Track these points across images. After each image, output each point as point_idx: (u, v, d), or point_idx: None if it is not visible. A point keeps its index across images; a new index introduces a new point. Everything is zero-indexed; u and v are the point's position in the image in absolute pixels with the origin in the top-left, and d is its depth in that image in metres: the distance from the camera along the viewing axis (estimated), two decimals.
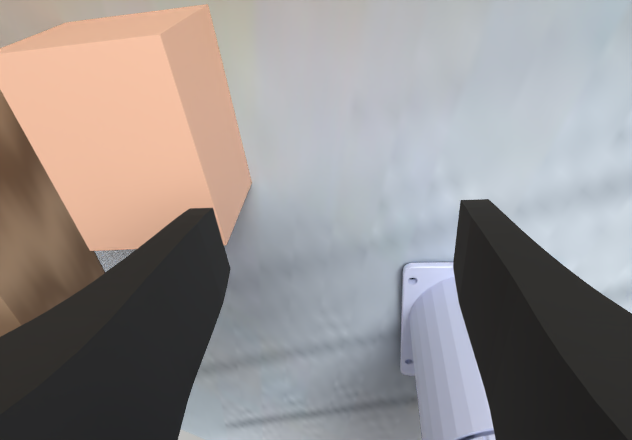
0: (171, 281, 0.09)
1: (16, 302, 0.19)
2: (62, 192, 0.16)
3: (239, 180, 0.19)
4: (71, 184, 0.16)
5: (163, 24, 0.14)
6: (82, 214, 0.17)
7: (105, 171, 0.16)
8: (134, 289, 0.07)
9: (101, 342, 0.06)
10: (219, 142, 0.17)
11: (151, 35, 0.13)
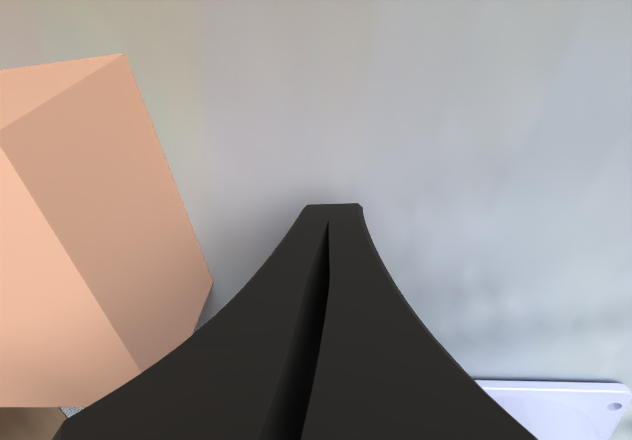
0: (317, 280, 0.08)
1: None
2: None
3: (190, 291, 0.14)
4: None
5: (25, 102, 0.08)
6: None
7: None
8: (300, 288, 0.07)
9: (294, 344, 0.06)
10: (148, 257, 0.11)
11: None
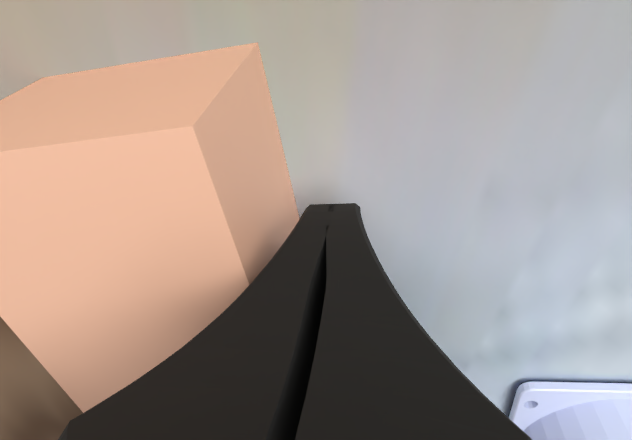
0: (321, 280, 0.08)
1: None
2: (38, 352, 0.10)
3: None
4: (51, 342, 0.10)
5: (193, 94, 0.08)
6: (72, 378, 0.11)
7: (104, 327, 0.10)
8: (304, 288, 0.07)
9: (298, 344, 0.06)
10: None
11: (175, 128, 0.07)
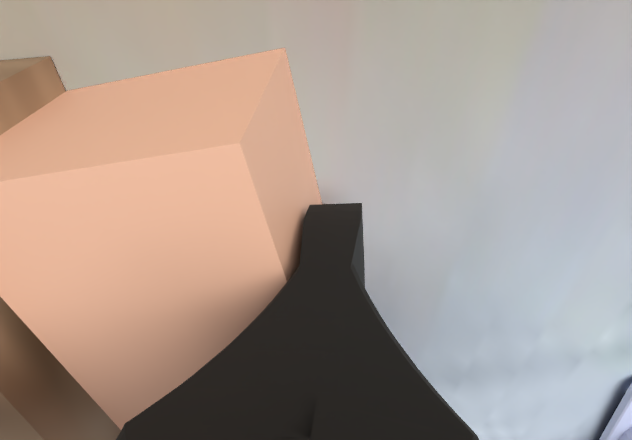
0: None
1: None
2: (75, 371, 0.10)
3: None
4: (88, 361, 0.10)
5: (231, 107, 0.08)
6: (108, 395, 0.11)
7: (142, 345, 0.09)
8: (342, 288, 0.07)
9: None
10: None
11: (222, 145, 0.06)
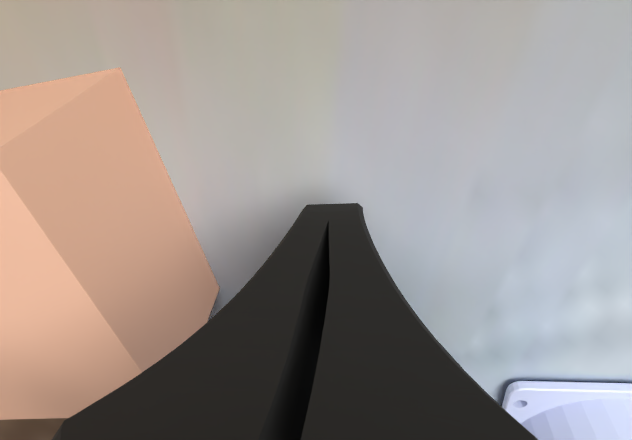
0: (317, 280, 0.08)
1: None
2: None
3: (196, 299, 0.14)
4: None
5: (22, 121, 0.09)
6: None
7: None
8: (300, 288, 0.07)
9: (294, 344, 0.06)
10: (152, 268, 0.12)
11: None
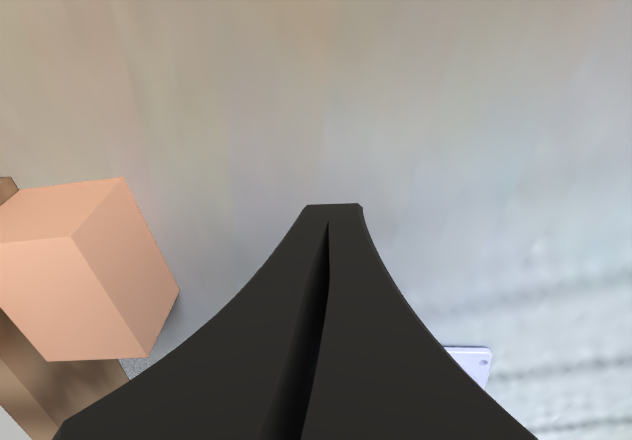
0: (317, 280, 0.08)
1: (39, 391, 0.24)
2: (19, 325, 0.22)
3: (164, 296, 0.24)
4: (25, 320, 0.21)
5: (79, 215, 0.19)
6: (36, 339, 0.22)
7: (48, 313, 0.21)
8: (300, 288, 0.07)
9: (293, 344, 0.06)
10: (138, 279, 0.22)
11: (64, 237, 0.18)
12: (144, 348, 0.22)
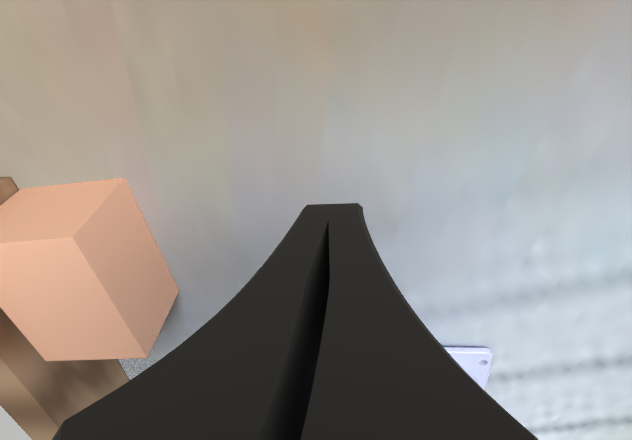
0: (317, 280, 0.08)
1: (39, 391, 0.24)
2: (19, 325, 0.22)
3: (163, 297, 0.24)
4: (25, 320, 0.21)
5: (81, 216, 0.19)
6: (36, 338, 0.22)
7: (48, 313, 0.21)
8: (300, 288, 0.07)
9: (293, 344, 0.06)
10: (138, 280, 0.22)
11: (66, 237, 0.18)
12: (143, 349, 0.22)
